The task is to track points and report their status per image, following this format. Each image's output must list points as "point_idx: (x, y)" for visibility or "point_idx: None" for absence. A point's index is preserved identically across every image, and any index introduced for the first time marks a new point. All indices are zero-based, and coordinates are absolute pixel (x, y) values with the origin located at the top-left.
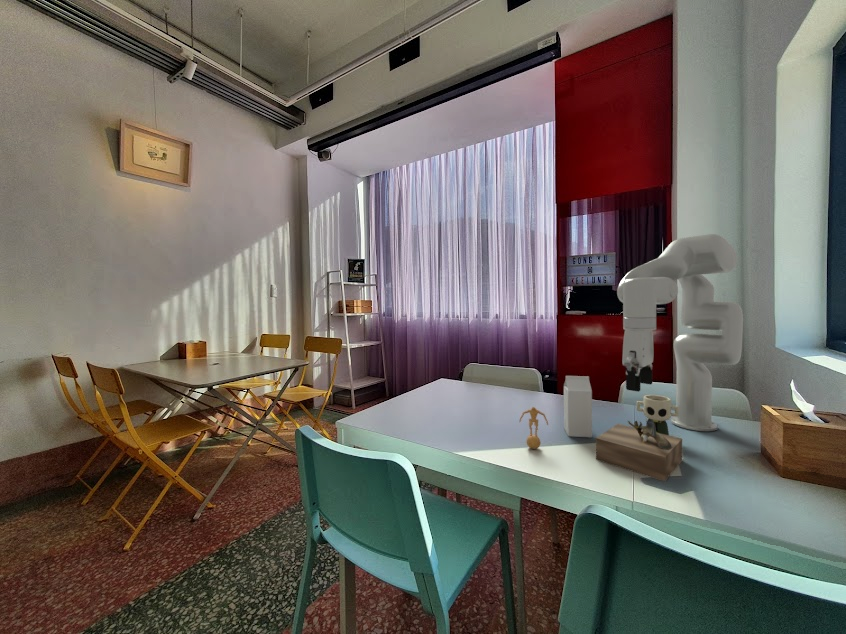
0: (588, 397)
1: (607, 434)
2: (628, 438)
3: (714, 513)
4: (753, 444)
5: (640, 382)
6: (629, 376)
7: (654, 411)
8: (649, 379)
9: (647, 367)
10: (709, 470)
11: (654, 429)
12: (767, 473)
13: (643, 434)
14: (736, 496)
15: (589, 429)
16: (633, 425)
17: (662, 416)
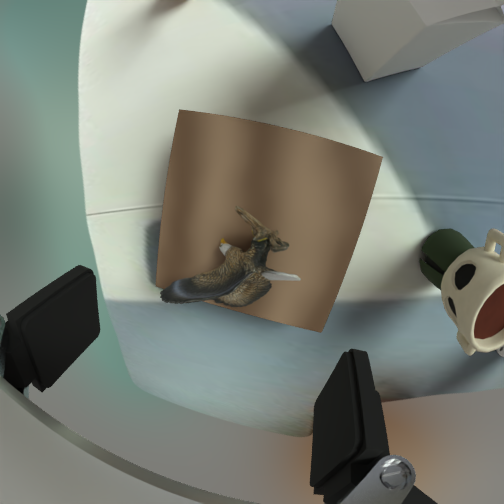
0: (403, 22)
1: (235, 132)
2: (235, 198)
3: (126, 314)
4: (446, 393)
5: (341, 358)
6: (7, 328)
7: (458, 288)
8: (317, 424)
9: (328, 502)
10: (289, 338)
11: (164, 294)
12: None
13: (230, 248)
14: (199, 351)
15: (366, 69)
16: (249, 223)
17: (448, 302)
